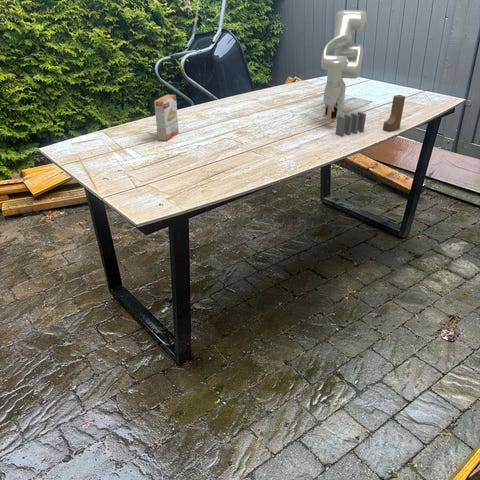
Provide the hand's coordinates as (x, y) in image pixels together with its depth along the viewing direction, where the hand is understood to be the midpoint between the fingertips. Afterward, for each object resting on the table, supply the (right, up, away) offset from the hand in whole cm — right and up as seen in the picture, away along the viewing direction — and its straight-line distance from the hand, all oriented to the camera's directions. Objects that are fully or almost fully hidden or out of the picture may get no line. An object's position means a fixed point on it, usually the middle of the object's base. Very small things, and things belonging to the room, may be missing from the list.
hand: (330, 116), depth 255 cm
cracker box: (-90, -14, -8) cm, 91 cm away
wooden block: (+33, -8, -2) cm, 34 cm away
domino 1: (0, -2, +2) cm, 3 cm away
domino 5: (+15, -9, -4) cm, 18 cm away
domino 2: (+3, -12, -9) cm, 16 cm away
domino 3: (+7, -11, -7) cm, 15 cm away
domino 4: (+11, -10, -6) cm, 16 cm away
